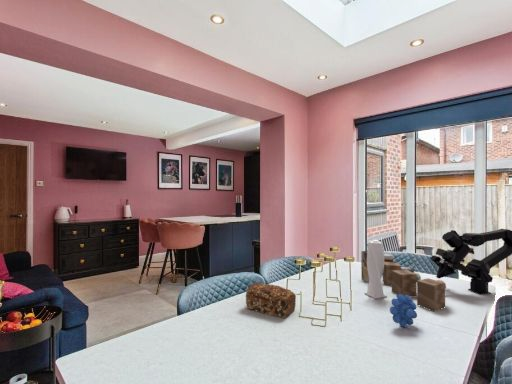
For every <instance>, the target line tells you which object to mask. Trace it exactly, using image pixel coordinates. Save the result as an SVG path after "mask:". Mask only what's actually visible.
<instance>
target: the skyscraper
mask: <svg viewBox="0 0 512 384" xmlns="http://www.w3.org/2000/svg"><path fill="white" fill-rule="evenodd" d="M366 251H367V269H368V275H369V279H370V280H369V283H368V286H367V292H365V293H364V295H365V296H368V297H370V298H372V299H374V300H381V299H386V298H388V296H387V295H385V294H384V288H383V285H382V279H383V275H382V274H383V269H384V253H385V252H384V247H383V238H382V237H380V241H379V239H372V240H370V239H368V244H367V250H366Z"/></svg>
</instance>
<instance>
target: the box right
mask: <svg viewBox="0 0 512 384" xmlns="http://www.w3.org/2000/svg"><path fill="white" fill-rule="evenodd" d="M436 280H437V279H433V278H424V279H421V280H419V281H417V298H416V301H417V302H416V303H417V304H416V306H418V305H420V306H419V307H421V306H422V307H421V308H424V307H425V308H424V309H426V308H427V309H426V310H429V309H430V310H429V311H432V310H433V311H432V312H436V311H439V310H438V309H440V310H442V309H441V308H443V309H445V308H446V289H445V284H446V282H444V281H443V282H440V281H436ZM444 307H445V308H444ZM435 310H436V311H435Z"/></svg>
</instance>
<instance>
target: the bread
mask: <svg viewBox="0 0 512 384" xmlns="http://www.w3.org/2000/svg"><path fill="white" fill-rule="evenodd" d="M296 299H297V296H296V294H295V293H294V291H292V290H291V289H287V288H285V287H282V286H279V285H275V284H270V283H266V284H265V283H263V282H255V283H252V284H250V285H249V286H248V287H247V289H246V293H245V304H246V307H247V309H248V310H253V311H255V312H258V313H261V314H264V315H268V316H273V317H279V318H282V319H285V318H288V317H290V314H293V312H294V311H295V309H296Z"/></svg>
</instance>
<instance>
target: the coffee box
mask: <svg viewBox="0 0 512 384" xmlns="http://www.w3.org/2000/svg"><path fill="white" fill-rule="evenodd" d="M367 251H368V250H363V251H362V250H361V251H360V252H361V253H360V255H361V259H360V260H361V261H360V262H361V265H360V267H361V271H360V272H361V280H362V281H363V282H366V283H368V284H369V280H370V279H369V275H368V269H367Z"/></svg>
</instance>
